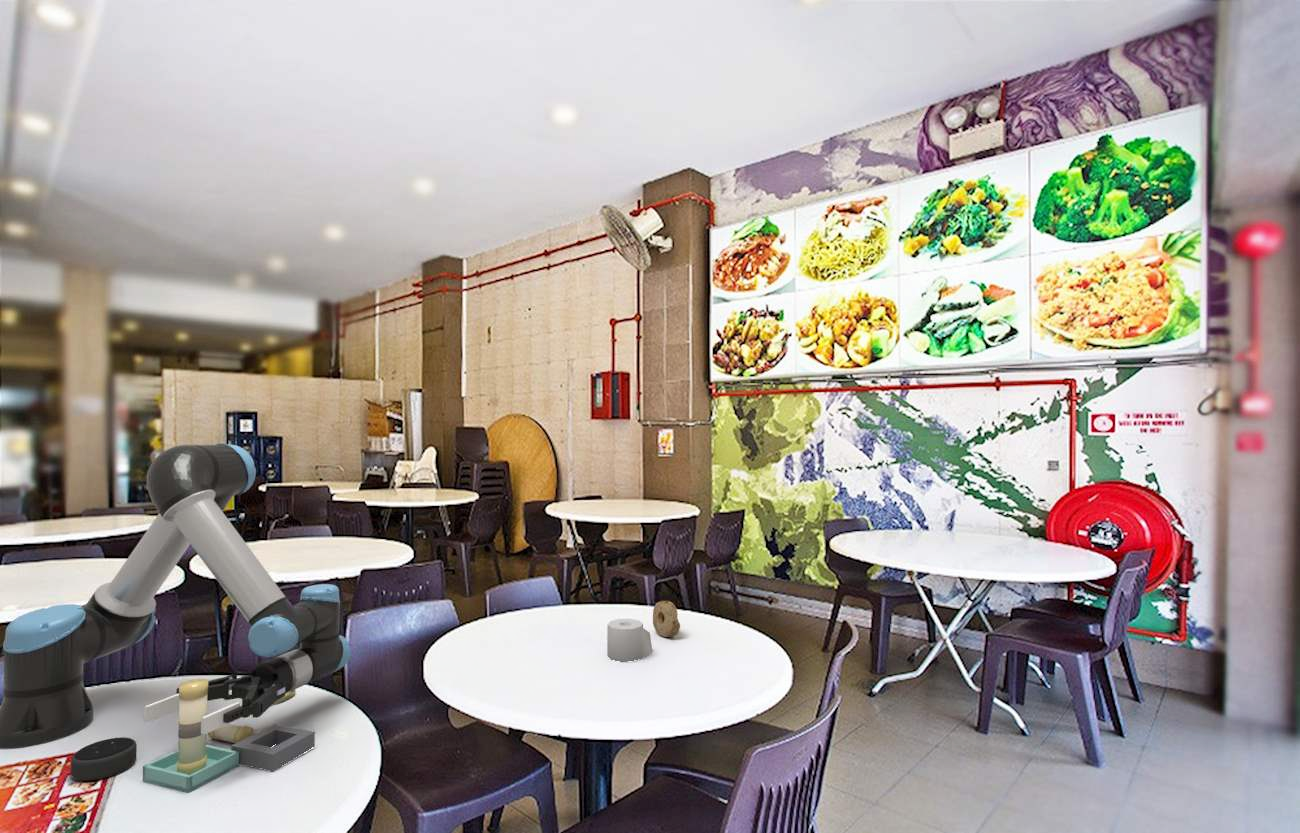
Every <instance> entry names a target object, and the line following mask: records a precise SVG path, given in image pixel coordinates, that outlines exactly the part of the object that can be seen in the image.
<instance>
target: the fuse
mask: <svg viewBox="0 0 1300 833" xmlns="http://www.w3.org/2000/svg"><path fill="white" fill-rule="evenodd" d="M254 734H255V729H254V727H252V726H249V725H238V724H235V723H228V724H226V725H224V726H222V727H220V728H218V729H215V730H213V731H211V732H209V733H207V736H208V738H209V739H214V740H218V741H222V742H227V743H231V744H235V743H237V742H239V741H241V740H244V739H246V738H248V737H250V736H252V735H254Z"/></svg>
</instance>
